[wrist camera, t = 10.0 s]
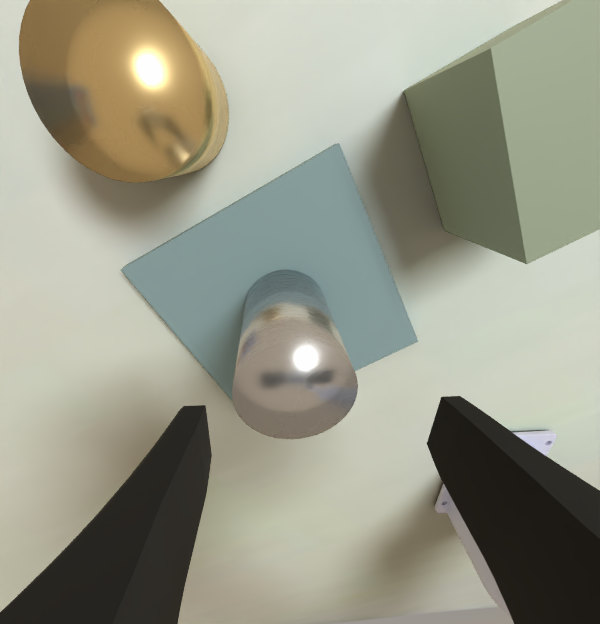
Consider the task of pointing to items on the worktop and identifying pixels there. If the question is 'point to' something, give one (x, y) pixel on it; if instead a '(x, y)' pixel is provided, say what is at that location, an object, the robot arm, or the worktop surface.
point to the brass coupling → (122, 87)
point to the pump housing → (518, 134)
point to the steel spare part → (291, 360)
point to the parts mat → (278, 267)
